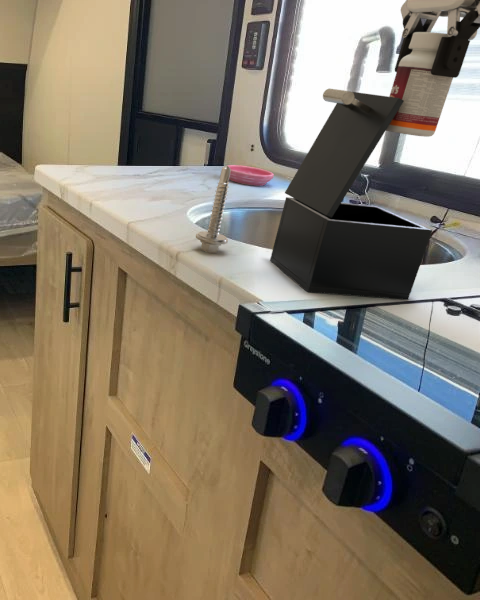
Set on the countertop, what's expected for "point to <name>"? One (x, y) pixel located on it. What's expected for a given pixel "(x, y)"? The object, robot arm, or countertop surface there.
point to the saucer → (249, 175)
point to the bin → (349, 250)
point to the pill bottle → (419, 88)
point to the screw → (216, 217)
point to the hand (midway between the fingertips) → (424, 73)
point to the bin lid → (342, 148)
